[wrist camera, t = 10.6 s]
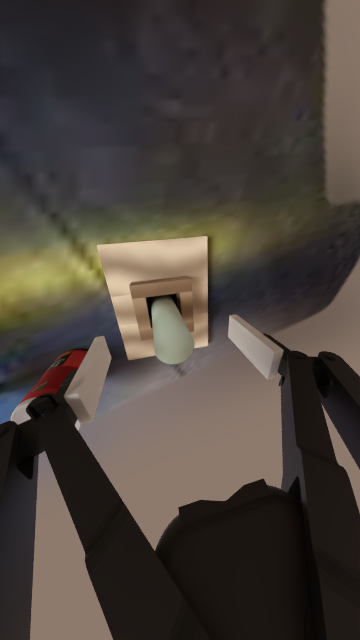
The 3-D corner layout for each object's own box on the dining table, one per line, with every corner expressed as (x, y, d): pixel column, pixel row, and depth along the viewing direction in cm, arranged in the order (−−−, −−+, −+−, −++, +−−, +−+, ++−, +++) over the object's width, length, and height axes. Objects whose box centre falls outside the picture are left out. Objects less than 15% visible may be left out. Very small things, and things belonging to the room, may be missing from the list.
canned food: (65, 341, 27) (19, 393, 17) (110, 357, 30) (92, 409, 20) (50, 373, 29) (1, 436, 19) (94, 385, 32) (71, 444, 22)
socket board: (98, 245, 22) (89, 244, 19) (204, 236, 25) (214, 234, 21) (129, 356, 31) (126, 370, 27) (205, 342, 33) (213, 353, 30)
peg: (149, 294, 27) (151, 333, 14) (172, 291, 27) (193, 326, 15) (152, 315, 28) (157, 367, 16) (174, 312, 29) (195, 359, 16)
